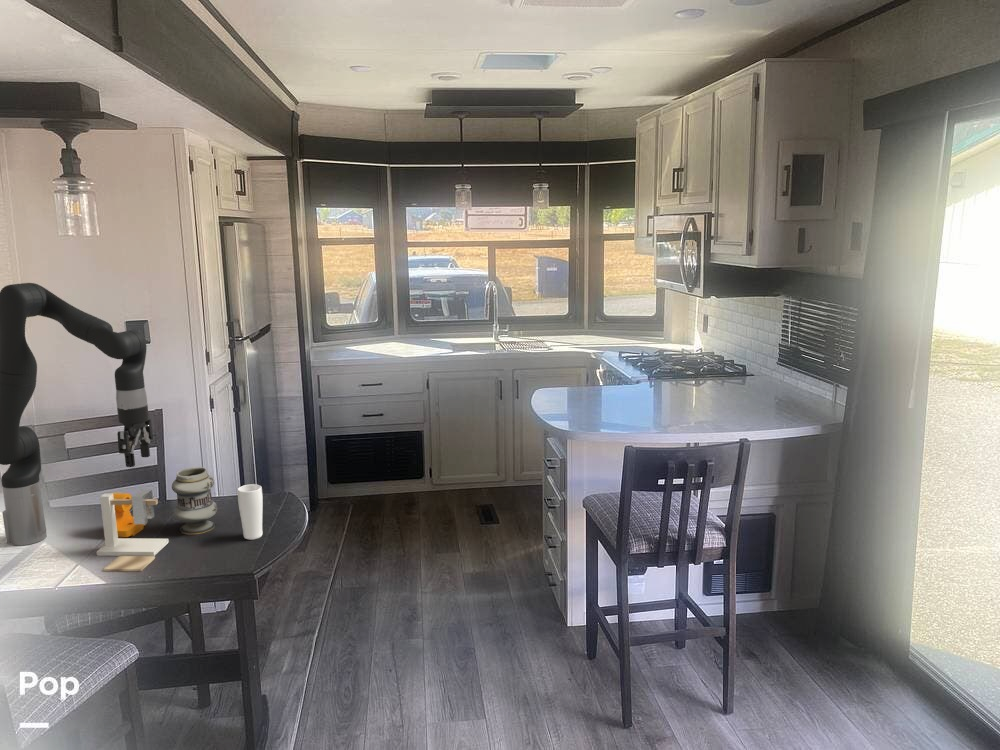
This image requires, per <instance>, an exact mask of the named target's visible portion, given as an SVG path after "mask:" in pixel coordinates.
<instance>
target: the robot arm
mask: <svg viewBox="0 0 1000 750" xmlns="http://www.w3.org/2000/svg"><path fill="white" fill-rule="evenodd" d="M37 316H39V317H44V318H48V319H51V320H54V321H56V322H58V323H59V324H60V325H61V326H62V327H63V328H64V329H65V330H66V331H67V332H68V333H69V334H71V335H72V336H74V337H75V338H76V339H77V338H78V339H80V340H82V341H84V342H86V343H88V344H90V345H93V346H94V347H95V348H96V349H98V350H99V351H101V352H102V353H103V354H104V355H106V356H107V357H109V358H111V359H115V360H122V361H121V364H120V366H119V367H117V368H116V369H115V371H114V382H115V402H116V409H117V411H116V412H117V419H118V423H119V424H121V425H123V430H122V431H120V430H119V431H117V435H116V436H117V447H118V453H119V454H123V455H124V461H125V467H126V468H133V467H135V466H136V462H135V453H134V451H135V447H136V446H137V445H138V443H139V448H140V457H141V458H149V457H150V456H151V452H150V443H151V440H153V439H154V436H153V434H154V433H153V427H152V420H151V419H150V417H149V406H148V397H147V391H146V387H145V385H146V384H145V376H144V368H145V363H146V357H147V342H146V339H145V337H144V335H143V333H141V332H140V331H138V330H136V329H135V330H134V329H129V330H125V331H120V332H116V331H114V328H113V326H112V325H111V324H110V323H109V322H108V321H106V320H103V319H101V318H99V317H97V316H94V315H93V314H90V313H88V312H85V311H83V310H82V309H80V308H77V307H75V306H73V304H71V303H68V301H65V300H64V299H62V298H60V296H57V295H56V294H54V293H53V292H51V291H50V290H49V289H48V288H46V287H44V286H42V285H40V284H38V283H35V282H23V283H12V284H8V285H4V287H3V288H1V290H0V465H1V466H2V465H3V466H7V465H9V467H8V469H7V470H6V471H5V472H4V473H3V474H2V475H1V478H0V479H1V481H0V482H1V487H2V495H3V501H4V509H5V510H3V511H2V521H3V527H4V534H5V541H6V544H11V545H13V546H27V545H32V544H35V543H39V542H41V541H44V539H46V538H47V537H48V536H47V535H48V533H47V527H46V525H47V524H46V518H45V517H46V516H45V511H44V510H45V509H44V503H43V496H42V489H41V488H42V487H41V479H40V474H41V471H42V462H41V461H42V460H41V446H40V441H39V438H38V435H37V434H36V432H35V430H33V429H32V428H30V427H29V426H25V425H21V426H20V423H21V419H22V415H23V414H24V412H25V410H26V407H27V406H28V404H29V402H30V400H31V398H32V397H33V395H34V392H35V389H36V386H37V375H38V364H37V360H36V357H35V355H34V353H33V352H32V350H31V348H30V347H29V344H28V342H27V338H26V322H27V318H33V317H37Z"/></svg>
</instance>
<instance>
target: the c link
mask: <svg viewBox="0 0 1000 750" xmlns="http://www.w3.org/2000/svg"><path fill="white" fill-rule="evenodd" d="M131 496H132V497H131V498H132V506H131V508H132V517H134V524H146V523H149V522H148V519H153V518H155V517H156V516H155V508H154V507H155V505H146V501H147V500H148V499H154V497H153V489H140V490H139V491H137V492H136V493H134V494H133V495H131ZM146 525H147V524H146Z"/></svg>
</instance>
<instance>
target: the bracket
mask: <svg viewBox="0 0 1000 750" xmlns="http://www.w3.org/2000/svg"><path fill="white" fill-rule="evenodd" d="M110 494H113V498H114V499H132V498H131V497H132V496H133V495H131V494H130V492H129V493H125V492H123V493H122V492H111V493H110ZM114 507H115V516H116V525H117V533H118V538H129V537H134V536H136V535H137V534H139V533H140V532H141V531H142V530H143V531H144V529H145V527H144V526H146V525H147V523H148V522H147V523H146V524H134V516H133V515H132V513H131V511H130V510H131V509H132V505H114Z"/></svg>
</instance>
